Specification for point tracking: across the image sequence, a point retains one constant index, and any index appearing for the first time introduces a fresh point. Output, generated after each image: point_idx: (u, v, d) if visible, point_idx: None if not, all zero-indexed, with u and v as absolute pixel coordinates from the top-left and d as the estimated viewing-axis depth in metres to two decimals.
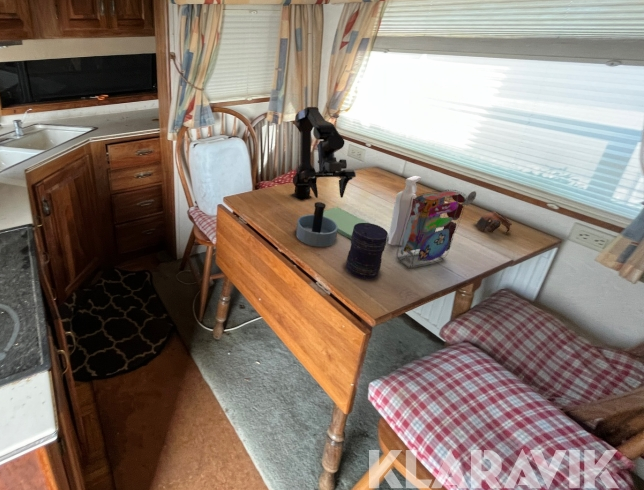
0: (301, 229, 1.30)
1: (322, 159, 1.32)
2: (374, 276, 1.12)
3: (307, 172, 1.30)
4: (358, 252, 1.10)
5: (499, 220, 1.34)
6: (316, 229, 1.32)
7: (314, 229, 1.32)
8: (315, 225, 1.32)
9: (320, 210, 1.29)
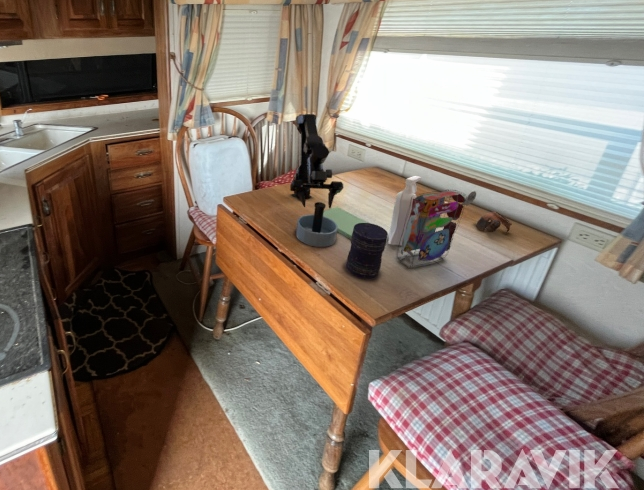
0: (301, 229, 1.30)
1: (310, 170, 1.37)
2: (374, 276, 1.12)
3: (294, 181, 1.35)
4: (358, 252, 1.10)
5: (499, 220, 1.34)
6: (316, 229, 1.32)
7: (314, 229, 1.32)
8: (315, 225, 1.32)
9: (320, 210, 1.29)
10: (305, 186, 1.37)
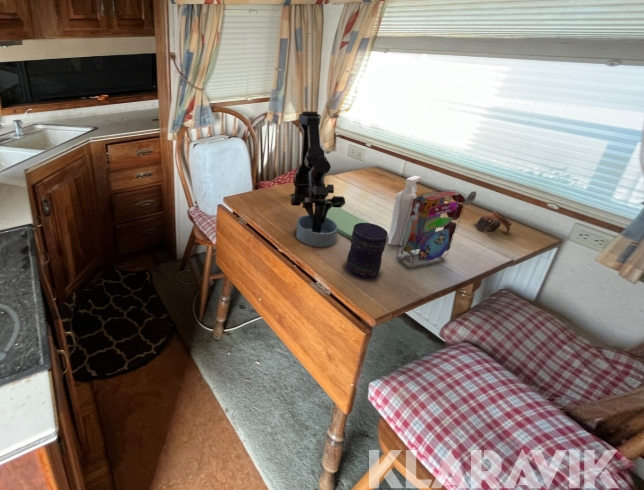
0: (301, 229, 1.30)
1: (311, 185, 1.34)
2: (374, 276, 1.12)
3: (295, 196, 1.33)
4: (358, 252, 1.10)
5: (499, 220, 1.34)
6: (317, 229, 1.32)
7: (314, 229, 1.32)
8: (315, 225, 1.32)
9: (320, 210, 1.29)
10: None
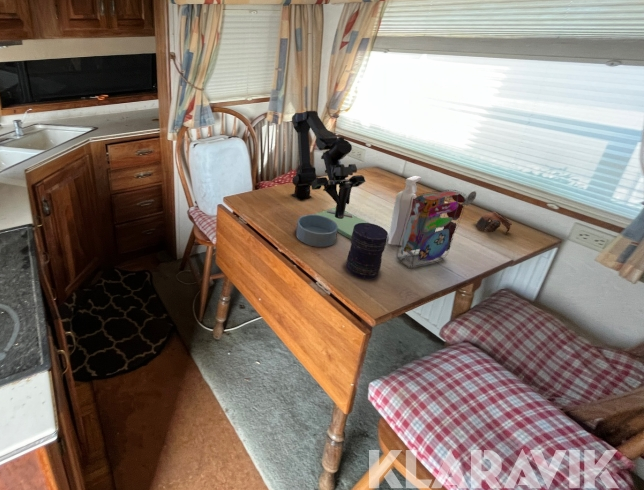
0: (301, 229, 1.30)
1: (331, 167, 1.33)
2: (374, 276, 1.12)
3: (319, 179, 1.29)
4: (358, 252, 1.10)
5: (499, 220, 1.34)
6: (342, 210, 1.31)
7: (339, 211, 1.31)
8: (340, 206, 1.30)
9: (346, 190, 1.28)
10: None
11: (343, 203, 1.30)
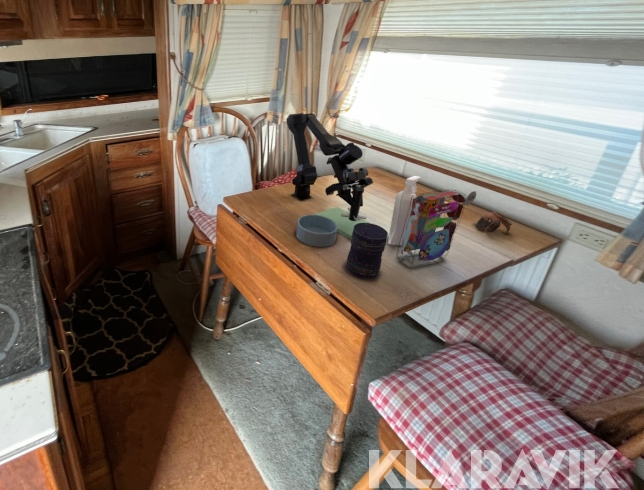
0: (301, 229, 1.30)
1: (342, 172, 1.36)
2: (374, 276, 1.12)
3: (335, 185, 1.32)
4: (358, 252, 1.10)
5: (499, 220, 1.34)
6: (356, 212, 1.35)
7: (354, 214, 1.35)
8: (355, 209, 1.34)
9: (361, 194, 1.32)
10: None
11: (358, 206, 1.34)
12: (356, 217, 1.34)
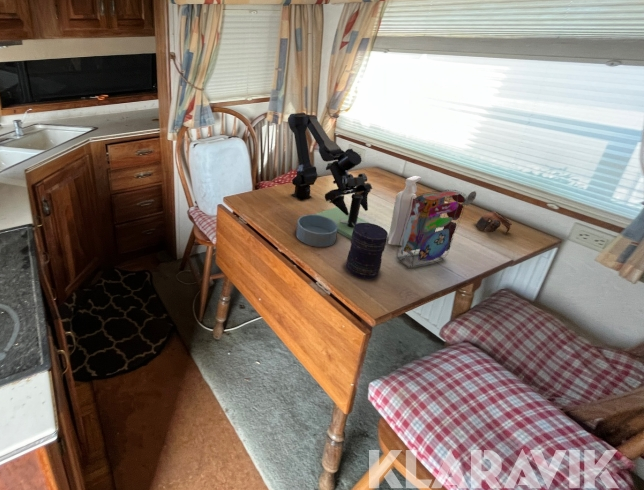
0: (301, 229, 1.30)
1: (341, 177, 1.37)
2: (374, 276, 1.12)
3: (335, 191, 1.33)
4: (358, 252, 1.10)
5: (499, 220, 1.34)
6: (355, 219, 1.36)
7: (353, 220, 1.36)
8: (354, 216, 1.36)
9: (359, 201, 1.33)
10: None
11: (356, 213, 1.35)
12: (355, 224, 1.35)
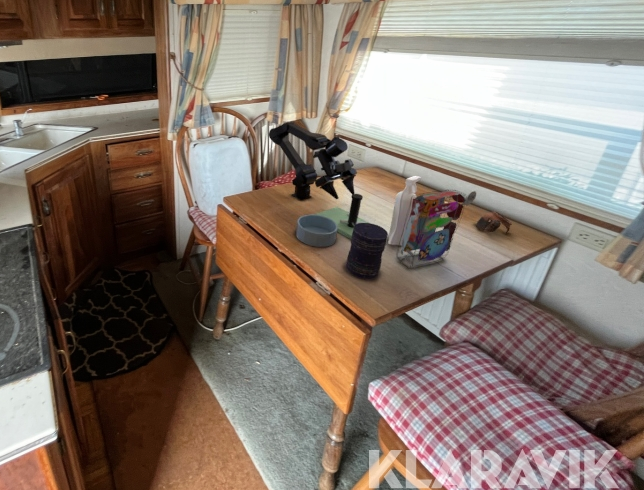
0: (301, 229, 1.30)
1: (329, 164, 1.45)
2: (374, 276, 1.12)
3: (325, 177, 1.40)
4: (358, 252, 1.10)
5: (499, 220, 1.34)
6: (355, 219, 1.36)
7: (353, 220, 1.36)
8: (354, 216, 1.36)
9: (359, 201, 1.33)
10: None
11: (356, 213, 1.35)
12: (355, 224, 1.35)
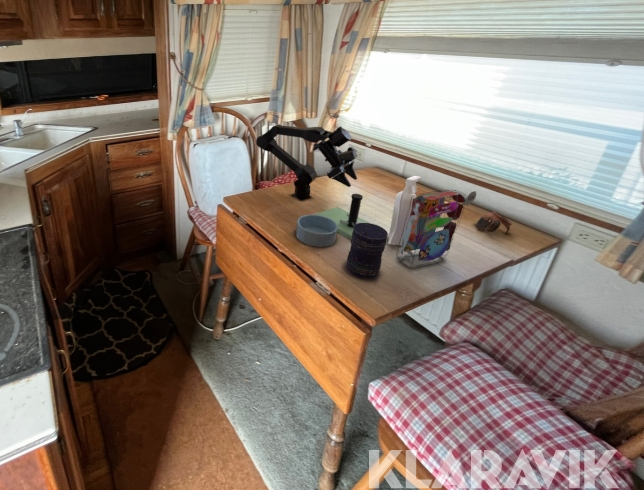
0: (301, 229, 1.30)
1: (335, 154, 1.48)
2: (374, 276, 1.12)
3: (339, 167, 1.42)
4: (358, 252, 1.10)
5: (499, 220, 1.34)
6: (355, 219, 1.36)
7: (353, 220, 1.36)
8: (354, 216, 1.36)
9: (359, 201, 1.33)
10: None
11: (356, 213, 1.35)
12: (355, 224, 1.35)
